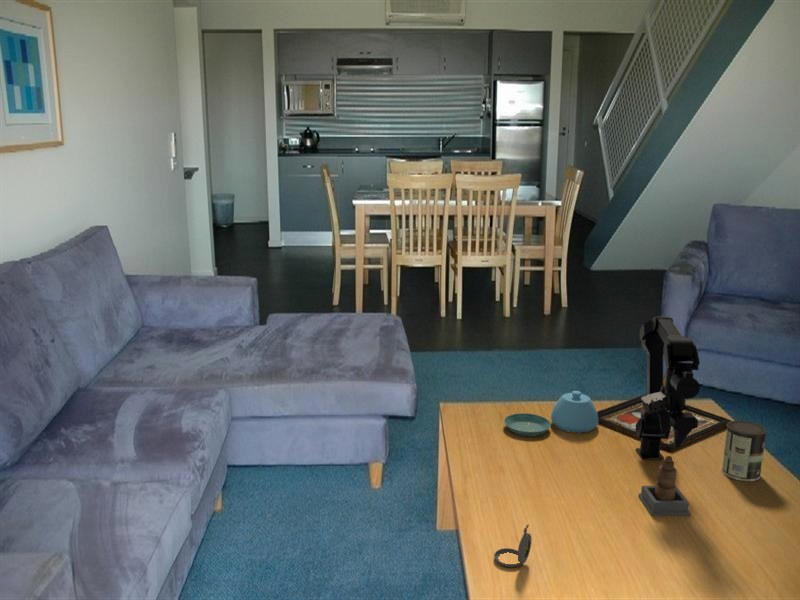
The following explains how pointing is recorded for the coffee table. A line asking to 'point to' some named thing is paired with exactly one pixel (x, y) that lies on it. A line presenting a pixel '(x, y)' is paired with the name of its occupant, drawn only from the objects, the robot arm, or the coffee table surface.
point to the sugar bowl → (575, 413)
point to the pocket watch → (522, 550)
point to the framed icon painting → (630, 412)
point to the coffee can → (744, 450)
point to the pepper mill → (666, 481)
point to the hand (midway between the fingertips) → (670, 439)
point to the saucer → (521, 422)
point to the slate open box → (664, 503)
